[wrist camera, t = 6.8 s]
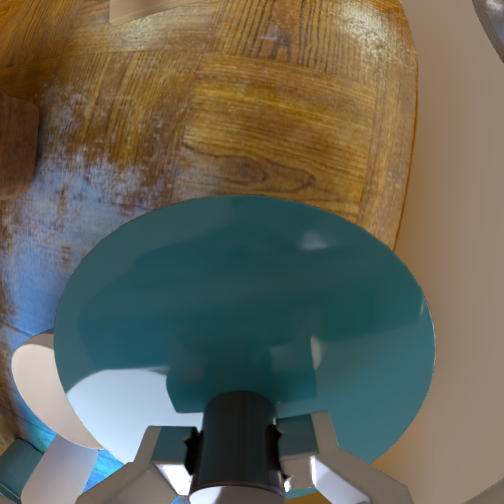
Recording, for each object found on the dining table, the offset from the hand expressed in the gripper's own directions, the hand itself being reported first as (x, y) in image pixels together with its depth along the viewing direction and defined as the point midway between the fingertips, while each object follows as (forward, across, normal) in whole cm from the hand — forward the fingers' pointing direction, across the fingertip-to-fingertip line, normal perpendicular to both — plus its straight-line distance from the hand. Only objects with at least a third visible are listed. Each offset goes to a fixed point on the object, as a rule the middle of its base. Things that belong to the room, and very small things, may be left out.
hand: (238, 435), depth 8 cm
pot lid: (+2, 0, 0) cm, 2 cm away
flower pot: (+23, +61, +41) cm, 77 cm away
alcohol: (+23, +38, +30) cm, 53 cm away
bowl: (+23, +23, +11) cm, 35 cm away
